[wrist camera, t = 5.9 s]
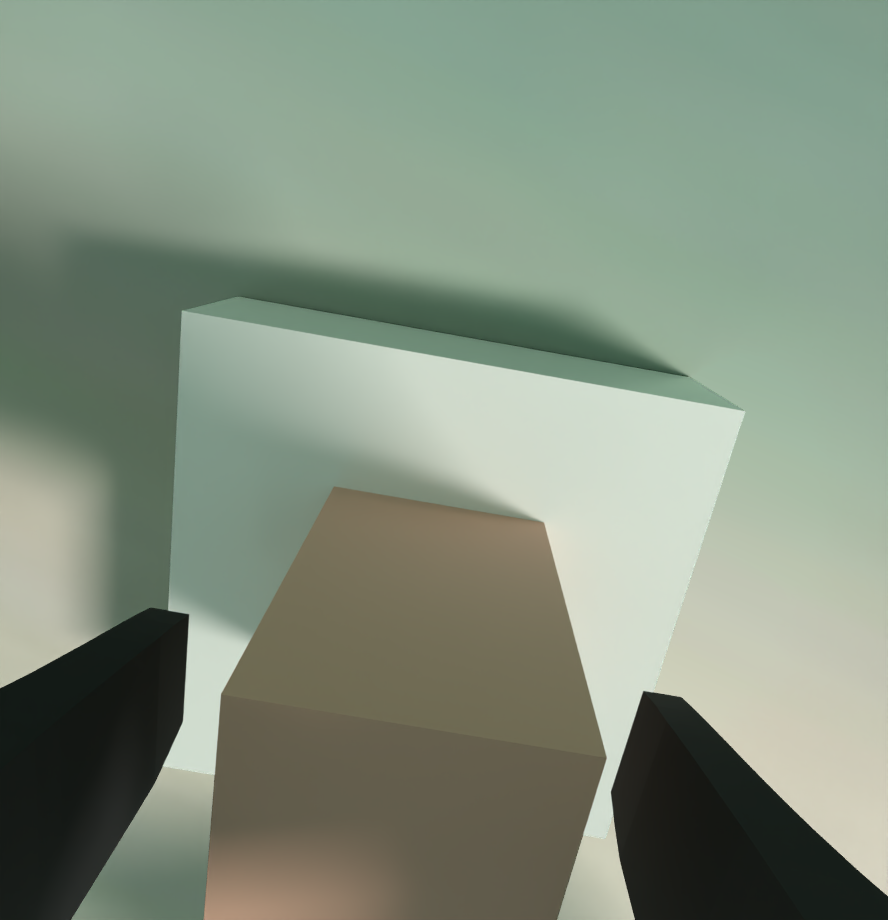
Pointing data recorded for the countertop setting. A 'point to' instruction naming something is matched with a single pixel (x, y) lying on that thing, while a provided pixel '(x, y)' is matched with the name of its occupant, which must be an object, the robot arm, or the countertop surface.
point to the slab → (434, 481)
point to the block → (405, 726)
